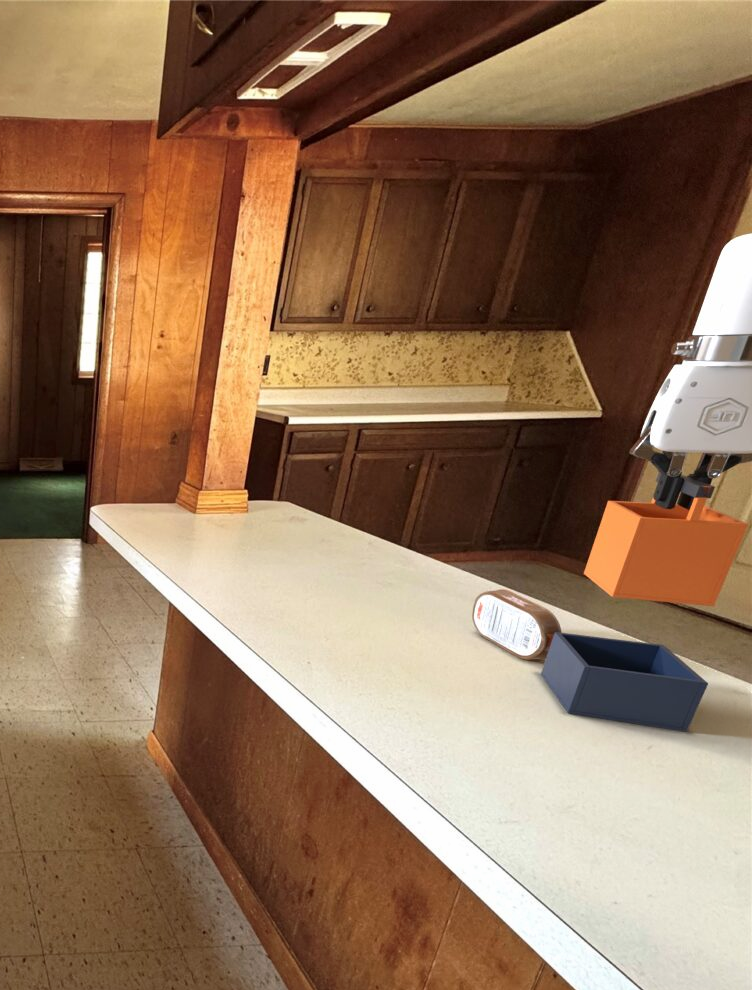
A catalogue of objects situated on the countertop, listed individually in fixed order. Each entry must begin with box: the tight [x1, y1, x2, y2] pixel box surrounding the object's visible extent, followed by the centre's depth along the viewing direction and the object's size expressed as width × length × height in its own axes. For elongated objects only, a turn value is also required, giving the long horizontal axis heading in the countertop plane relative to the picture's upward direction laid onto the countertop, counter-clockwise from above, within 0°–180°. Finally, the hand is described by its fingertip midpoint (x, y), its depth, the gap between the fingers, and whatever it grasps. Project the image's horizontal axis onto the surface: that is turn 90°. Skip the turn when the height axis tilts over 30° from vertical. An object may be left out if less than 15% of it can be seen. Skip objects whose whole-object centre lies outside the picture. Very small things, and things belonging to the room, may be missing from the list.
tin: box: [471, 588, 563, 661], centre depth 105 cm, size 15×3×8 cm, turn 179°
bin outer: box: [540, 632, 709, 733], centre depth 89 cm, size 12×12×7 cm
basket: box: [583, 472, 749, 607], centre depth 84 cm, size 10×10×15 cm
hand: (675, 506), depth 83 cm, fingers closed on basket, 1 cm apart
